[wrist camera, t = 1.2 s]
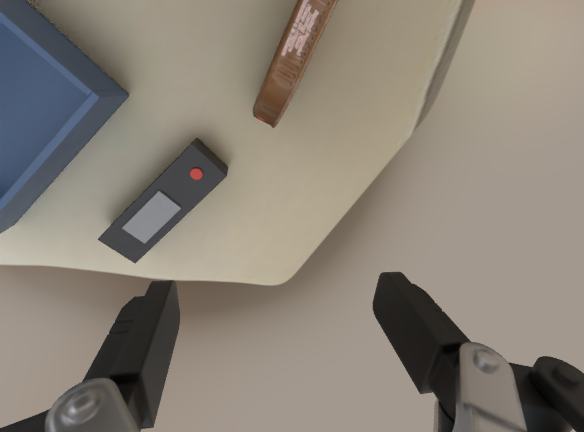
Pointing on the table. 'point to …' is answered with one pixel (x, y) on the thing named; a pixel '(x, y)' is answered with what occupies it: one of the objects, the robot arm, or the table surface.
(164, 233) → the remote
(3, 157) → the open blue packaging tray
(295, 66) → the tin
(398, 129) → the table surface
